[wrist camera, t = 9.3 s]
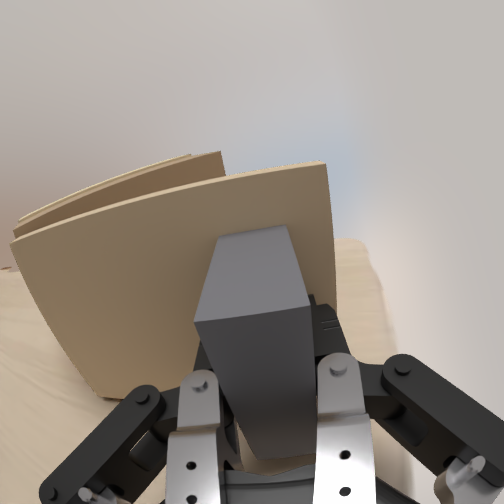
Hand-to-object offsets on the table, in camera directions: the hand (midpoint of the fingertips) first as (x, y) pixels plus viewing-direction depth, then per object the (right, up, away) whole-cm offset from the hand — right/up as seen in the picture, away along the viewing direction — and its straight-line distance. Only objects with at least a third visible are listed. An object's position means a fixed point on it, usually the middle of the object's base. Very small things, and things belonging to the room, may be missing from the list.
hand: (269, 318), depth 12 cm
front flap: (-4, -7, +1) cm, 8 cm away
